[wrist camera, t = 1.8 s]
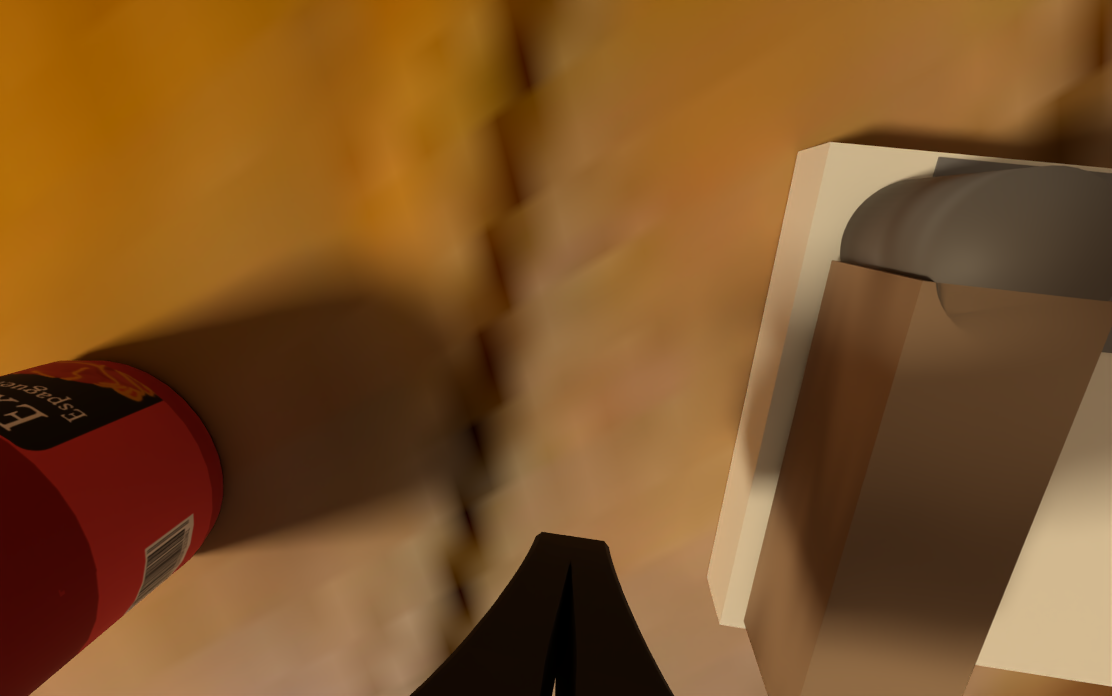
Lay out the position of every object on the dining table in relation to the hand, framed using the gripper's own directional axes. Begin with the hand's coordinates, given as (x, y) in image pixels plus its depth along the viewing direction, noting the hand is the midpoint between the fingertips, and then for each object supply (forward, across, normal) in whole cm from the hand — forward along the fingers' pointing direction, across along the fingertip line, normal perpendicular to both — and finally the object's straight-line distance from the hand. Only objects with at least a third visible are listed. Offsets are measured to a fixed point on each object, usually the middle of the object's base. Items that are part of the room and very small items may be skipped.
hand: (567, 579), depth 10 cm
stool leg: (+4, -7, -2) cm, 8 cm away
